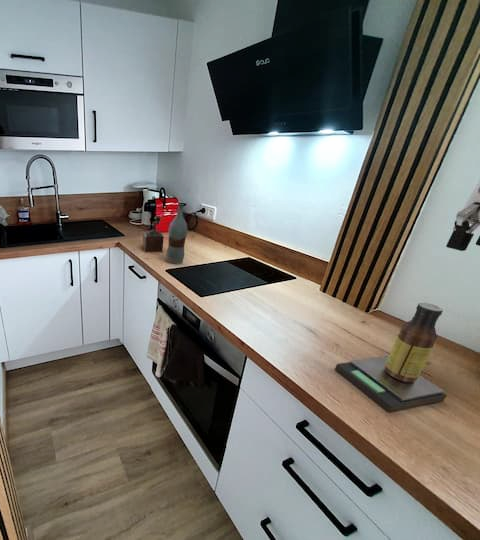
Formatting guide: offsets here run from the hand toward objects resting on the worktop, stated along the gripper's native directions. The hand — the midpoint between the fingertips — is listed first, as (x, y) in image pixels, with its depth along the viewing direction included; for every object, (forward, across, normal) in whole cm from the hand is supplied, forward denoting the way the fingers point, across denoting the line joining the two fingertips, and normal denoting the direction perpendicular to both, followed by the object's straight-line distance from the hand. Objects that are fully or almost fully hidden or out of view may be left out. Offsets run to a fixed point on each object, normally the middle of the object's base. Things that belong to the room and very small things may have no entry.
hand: (470, 247), depth 66 cm
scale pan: (+33, -12, -4) cm, 35 cm away
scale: (+35, -13, -4) cm, 38 cm away
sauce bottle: (+32, -11, -4) cm, 34 cm away
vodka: (+34, -33, +87) cm, 99 cm away
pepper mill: (+34, -37, +110) cm, 121 cm away
